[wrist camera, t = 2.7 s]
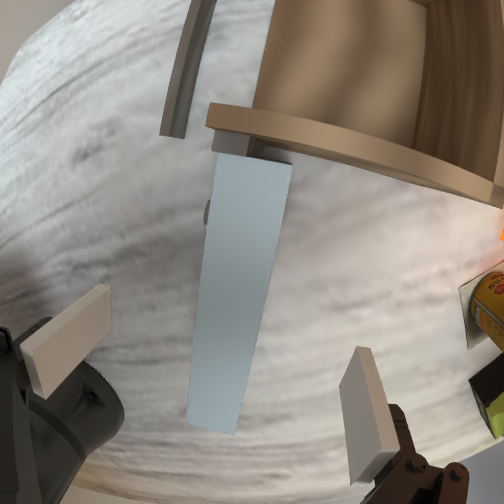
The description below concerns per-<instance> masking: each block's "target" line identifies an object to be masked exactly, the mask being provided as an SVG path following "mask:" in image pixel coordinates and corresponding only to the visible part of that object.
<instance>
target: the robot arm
mask: <svg viewBox="0 0 504 504" xmlns="http://www.w3.org/2000/svg"><path fill="white" fill-rule="evenodd" d="M111 330H112V306H111V287H110V286H107V285H104V284H101V283H100V284H98V285H97V286H95V287H94V288H93V289H91V290H90V291H89V292H87V293H86V294H85V295H83V296H82V297H80V298H79V299H78V300H76V301H75V302H74V303H72V304H71V305H70V306H68V307H67V308H66V309H64V310H63V311H62V312H61V313H59V314H58V315H57V316H55V317H54V318H52V317H48V318H45V319H42V320H40V321H39V322H38V323H36V324H35V325H34V326H32V327H31V328H30V329H29V330H27V331H26V332H24V333H23V334H22V335H21V336H19V337H18V338H17V339H16V340H14V341H13V342H12V338H11V334H10V331H9V330H8V329H7V328H5V327H1V326H0V504H59V503H60V502H61V500H62V498H63V496H64V494H65V493H66V491H67V489H68V488H69V486H70V484H71V483H72V481H73V479H74V477H75V476H76V474H77V472H78V471H79V469H80V467H81V465H82V464H83V462H84V461H85V459H86V457H87V456H88V455H89V454H90V453H92V452H93V451H95V450H96V449H97V448H99V447H100V446H102V445H103V444H104V443H106V442H107V441H108V440H110V439H111V438H113V437H114V436H115V435H116V434H117V432H118V430H119V429H120V427H121V425H122V423H123V421H124V412H123V408H122V405H121V403H120V401H119V399H118V397H117V396H116V394H115V392H114V391H113V390H112V388H111V387H110V386H109V385H108V383H107V382H106V381H105V380H104V379H103V378H102V377H101V376H100V375H99V374H98V373H97V372H96V371H95V370H93V369H92V368H91V367H90V366H88V365H87V364H86V363H84V362H83V361H82V360H83V359H84V358H85V357H86V356H87V355H88V354H89V353H90V352H91V351H92V350H93V349H94V347H95V346H96V345H97V344H98V343H99V342H100V341H101V340H102V339H103V338H104V337H105V336H106V335H107V334H108V333H109V332H110V331H111ZM339 389H340V396H341V403H342V411H343V419H344V427H345V435H346V444H347V453H348V463H349V474H350V485H351V486H368V485H369V484H370V483H371V482H372V481H373V480H374V482H375V487H374V488H373V489H372V490H371V491H370V492H369V493H368V494H367V495H366V496H365V499H364V500H363V501H362V502H361V503H360V504H466V501H467V494H468V485H469V472H468V470H467V468H466V467H465V466H463V465H462V464H460V463H457V462H453V463H449V464H448V465H447V466H446V467H445V468H444V469H443V468H438V467H434V466H430V465H428V462H427V460H426V459H425V458H424V457H423V456H422V455H420V454H418V453H416V451H415V447H414V444H413V440H412V437H411V434H410V431H409V429H408V424H407V422H406V418H405V415H404V412H403V411H402V410H401V408H400V407H399V406H398V405H397V404H388V403H387V399H386V396H385V393H384V389H383V386H382V383H381V380H380V376H379V373H378V370H377V367H376V364H375V361H374V358H373V355H372V352H371V349H370V348H365V347H359V346H357V347H356V349H355V351H354V354H353V356H352V358H351V361H350V363H349V365H348V367H347V370H346V372H345V374H344V376H343V378H342V381H341V383H340V385H339Z"/></svg>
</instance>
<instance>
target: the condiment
mask: <svg viewBox="0 0 504 504" xmlns="http://www.w3.org/2000/svg"><path fill="white" fill-rule="evenodd" d="M459 289H460V295H461V301H462V306H463V314H464V320H465V325H466V334H467V342H468V350H470V349H471V348H473V347H474V346H475V345H477V344H478V343H480V342H481V341H483V340H485V339H486V338H487V337H490V338H491V340H492V341H493V342H494V343H495V344H496V345H497V346H498V347H499V348H500V350H501V351H502V352H503V353H504V261H503V262H501V263H500V264H498V265H496V266H495V267H493V268H491V269H490V270H488V271H486V272H485V273H483V274H482V275H480V276H478V277H477V278H475V279H474V280H472V281H471V282H469V283H467V284H466V285H464V286H462V287H460V288H459ZM474 322H475V323H474Z"/></svg>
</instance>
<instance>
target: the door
mask: <svg viewBox="0 0 504 504" xmlns="http://www.w3.org/2000/svg"><path fill="white" fill-rule="evenodd" d="M292 169H293V165H292V164H291V163H287V162H282V161H277V160H272V159H266V158H257V157H244V156H238V155H232V154H227V153H219V152H218V158H217V164H216V170H215V176H214V182H213V189H212V195H211V200H209V201H208V203H207V206H206V209H205V214H204V224H205V225H207V229H206V236H205V243H204V251H203V258H202V266H201V274H200V282H199V290H198V299H197V308H196V317H195V326H194V336H193V346H192V356H191V367H190V379H189V391H188V404H187V418H186V424H190V425H193V426H197V427H201V428H205V429H209V430H213V431H218V432H222V433H226V434H231V435H234V433H235V429H236V425H237V421H238V417H239V413H240V408H241V404H242V400H243V396H244V392H245V387H246V383H247V379H248V375H249V370H250V366H251V362H252V358H253V353H254V349H255V344H256V340H257V336H258V331H259V327H260V322H261V318H262V313H263V309H264V304H265V300H266V295H267V291H268V286H269V281H270V277H271V272H272V267H273V263H274V258H275V253H276V248H277V244H278V239H279V234H280V229H281V224H282V219H283V215H284V210H285V205H286V200H287V195H288V190H289V185H290V180H291V174H292Z"/></svg>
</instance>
